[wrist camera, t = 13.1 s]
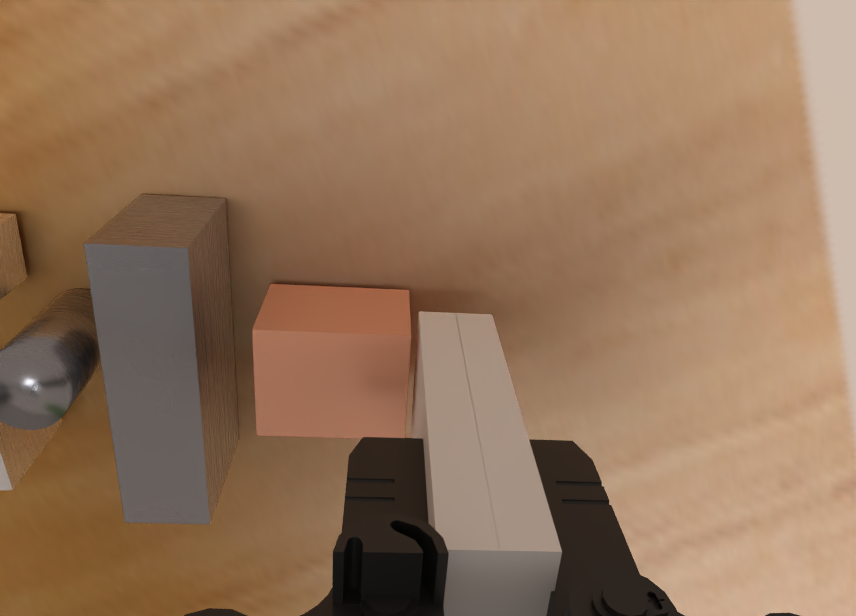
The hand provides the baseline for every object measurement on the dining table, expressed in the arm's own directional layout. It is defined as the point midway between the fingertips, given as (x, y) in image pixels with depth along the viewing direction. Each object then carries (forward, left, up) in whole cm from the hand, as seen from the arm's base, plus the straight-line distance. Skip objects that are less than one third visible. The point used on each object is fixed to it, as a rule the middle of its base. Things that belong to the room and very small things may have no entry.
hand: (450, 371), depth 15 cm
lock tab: (-2, 0, -1) cm, 3 cm away
